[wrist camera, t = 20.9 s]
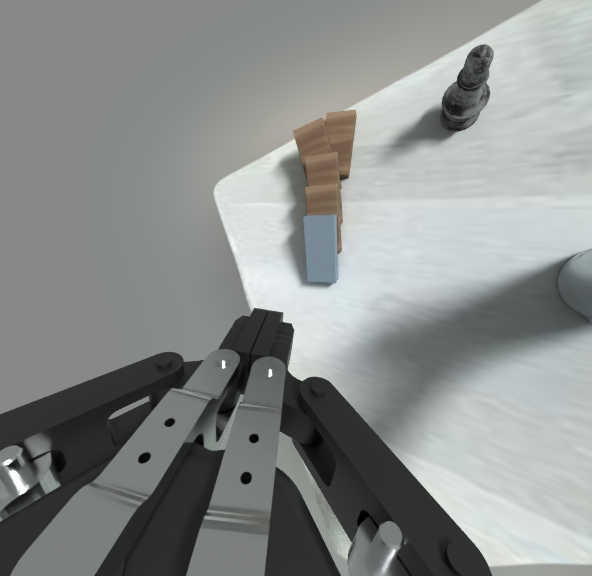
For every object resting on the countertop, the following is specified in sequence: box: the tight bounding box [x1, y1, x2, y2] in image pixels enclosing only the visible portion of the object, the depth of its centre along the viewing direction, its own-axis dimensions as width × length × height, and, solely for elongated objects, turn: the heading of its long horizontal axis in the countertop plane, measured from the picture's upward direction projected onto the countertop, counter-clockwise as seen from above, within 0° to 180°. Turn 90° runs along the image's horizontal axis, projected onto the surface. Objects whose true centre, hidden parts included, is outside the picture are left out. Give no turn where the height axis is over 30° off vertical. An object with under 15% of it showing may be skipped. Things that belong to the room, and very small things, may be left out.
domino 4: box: [326, 110, 357, 178], centre depth 47 cm, size 2×5×11 cm
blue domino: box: [303, 214, 338, 283], centre depth 45 cm, size 2×5×11 cm
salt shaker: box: [440, 44, 494, 131], centre depth 35 cm, size 6×6×12 cm
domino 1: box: [293, 118, 342, 189], centre depth 45 cm, size 2×5×11 cm
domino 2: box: [305, 152, 343, 224], centre depth 45 cm, size 2×5×11 cm
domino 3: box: [305, 183, 342, 253], centre depth 45 cm, size 2×5×11 cm
